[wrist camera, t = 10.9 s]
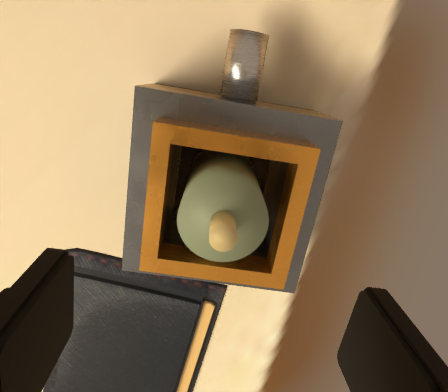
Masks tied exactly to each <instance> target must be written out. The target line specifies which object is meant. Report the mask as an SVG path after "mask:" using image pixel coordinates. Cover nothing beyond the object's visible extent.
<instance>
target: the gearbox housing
mask: <svg viewBox="0 0 448 392" xmlns="http://www.w3.org/2000/svg"><path fill="white" fill-rule="evenodd" d="M268 40H269V36H268V35H266V34H263V33H259V32H255V31H249V30H242V29H231V30H230V36H229V43H228V49H227V55H226V62H225V68H224V75H223V81H222V88H221V94H220V95H219V94H213V93H207V92H202V91H196V90H190V89H184V88H178V87H172V86H167V85H161V84H155V83H154V84H145V85H137V86H135V94H134V107H133V121H132V135H131V149H130V163H129V177H128V190H127V204H126V218H125V232H124V246H123V260H122V271H130V272H138V273H145V274H153V275H160V276H168V277H175V278H183V279H191V280H198V281H206V282H213V283H221V284H229V285H236V286H244V287H251V288H259V289H267V290H274V291H282V292H289V293H295V290H296V286H297V283H298V279H299V276H300V272H301V268H302V265H303V261H304V258H305V254H306V250H307V247H308V243H309V240H310V236H311V233H312V229H313V225H314V222H315V218H316V215H317V211H318V207H319V204H320V200H321V197H322V193H323V190H324V186H325V182H326V179H327V175H328V172H329V168H330V165H331V161H332V157H333V154H334V150H335V147H336V143H337V139H338V136H339V132H340V129H341V125H342V122H343V121H341V120H338V119H336V118H333V117H330V116H327V115H325V114H322V113H319V112H316V111H312V110H307V109H301V108H295V107H289V106H283V105H277V104H272V103H266V102H260V101H257V97H258V92H259V87H260V81H261V76H262V71H263V66H264V61H265V55H266V50H267V45H268ZM182 146H187V147H193V148H199V149H205V150H212V151H218V152H224V153H231V154H237V155H243V156H249V157H256V158H262V159H268V160H270V164H269V169H268V173H267V178H266V183H265V187H264V192H263V198H264V201H265V204H266V207H267V210H268V216H269V225H268V230H267V233H266V236H265V238H264V240H263V241H262V243H261V244H260V245H259V246H258V248H257V249H256V250H254V251H253V252H252V253H251V254H249V255H247V256H246V257H244V258H241V259H239V260H235V261H230V262H215V261H210V260H207V259H204V258H202V257H200V256H198V255H197V254H195V253H194V252H192V251H191V250H190V249H189V248H188V247H187V246H186V245H185V243H184V242H183V240H182V238H181V236H180V234H179V231H178V227H177V214H178V210H179V209H174V204H175V196H176V188H177V180H178V172H179V164H180V156H181V148H182Z"/></svg>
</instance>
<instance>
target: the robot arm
mask: <svg viewBox="0 0 448 392" xmlns="http://www.w3.org/2000/svg"><path fill="white" fill-rule="evenodd" d="M73 324H74V256H72V255H69V253H68V251H67V250H62V249H54V248H47V249H46V250H45V251H44V252H43V253H42V254H41V255H40V256H39V257H38V258H37V259H36V260H35V261H34V262H33V264H32V265H31V266H30V267H29V268H28V269H27V270H26V271H25V272H24V273H23V274H22V276H21V277H20V278H19V279H18V280H17V281H16V282H15V283H14V284H13V285H12V286H11V287H10V288H6V289H4V290H3V291H1V292H0V392H41V391H42V389H43V387H44V386H45V384H46V382H47V380H48V378H49V376H50V374H51V372H52V370H53V369H54V367H55V365H56V363H57V361H58V359H59V357H60V355H61V353H62V351H63V350H64V348H65V346H66V344H67V342H68V340H69V338H70V336H71V333H72V330H73ZM337 359H338V363H339V366H340V368H341V371H342V373H343V375H344V377H345V380H346V382H347V384H348V387H349V389H350V391H351V392H448V367H447V365H446V364H445V363H444V362H443V360H442V359H441V358H440V357H439V355H438V354H437V353H436V352H435V350H434V349H433V348H432V347H431V345H430V344H429V343H428V341H427V340H426V339H425V338H424V336H423V335H422V334H421V333H420V331H419V330H418V329H417V327H416V326H415V325H414V324H413V322H412V321H411V320H410V319H409V317H408V316H407V315H406V314H405V312H404V311H403V310H402V309H401V307H400V306H399V305H398V304H397V303H396V301H395V300H394V299H393V297H392V296H391V295H390V294H389V293H388V291H387V290H385V289H380V288H372V287H367V288H366V289H365V290H364V291H361V292H360V293H359V295H358V299H357V301H356V304H355V306H354V309H353V312H352V314H351V317H350V320H349V323H348V325H347V329H346V331H345V334H344V336H343V339H342V342H341V344H340V347H339V350H338V354H337Z"/></svg>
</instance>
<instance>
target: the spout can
mask: <svg viewBox="0 0 448 392" xmlns="http://www.w3.org/2000/svg"><path fill="white" fill-rule="evenodd" d="M268 225H269V216H268V210H267V207H266V204H265V201H264V198H263V195H262V192H261V189H260V186H259V184H258V181H257V178H256V175H255V172H254V169H253V166H252V163H251V161H250V159H249V158H248V156H243V155H237V154H231V153H224V152H218V151H212V150H205V149H204V150H203V151H202V152H200V153H199V154H198V156H197V157H196V158H195V160H194V162H193V165H192V168H191V171H190V174H189V177H188V180H187V184H186V187H185V190H184V193H183V197H182V200H181V203H180V206H179V210H178V214H177V227H178V231H179V234H180V236H181V238H182V240H183V242H184V243H185V245H186V246H187V247H188V248H189V249H190V250H191V251H192V252H194V253H195V254H197V255H198V256H200V257H202V258H204V259H207V260H210V261H215V262H230V261H235V260H239V259H241V258H244V257H246V256H247V255H249V254H251V253H252V252H253V251H254V250H256V249H257V248H258V246H259V245H260V244H261V243H262V241H263V240H264V238H265V236H266V233H267V230H268Z"/></svg>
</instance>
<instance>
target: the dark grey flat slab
mask: <svg viewBox="0 0 448 392" xmlns="http://www.w3.org/2000/svg"><path fill="white" fill-rule="evenodd" d="M67 251H68V253H69V255H72V256H74V324H73V330H72V333H71V336H70V338H69V340H68V342H67V344H66V346H65V348H64V350H63V351H62V353H61V355H60V357H59V359H58V361H57V363H56V365H55V367H54V369H53V370H52V372H51V374H50V376H49V378H48V380H47V382H46V384H45V386H44V389H43V392H192V391H193V388H194V385H195V382H196V379H197V376H198V373H199V370H200V367H201V364H202V361H203V358H204V355H205V352H206V349H207V346H208V343H209V340H210V337H211V334H212V331H213V328H214V325H215V322H216V319H217V315H218V312H219V309H220V306H221V303H222V300H223V297H224V294H225V291H226V288H227V285H223V284H219V283H213V282H206V281H198V280H191V279H183V278H175V277H168V276H160V275H153V274H145V273H138V272H130V271H122V260H123V258H118V257H114V256H110V255H106V254H102V253H98V252H93V251H89V250H84V249H79V248H74V249H67Z"/></svg>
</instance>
